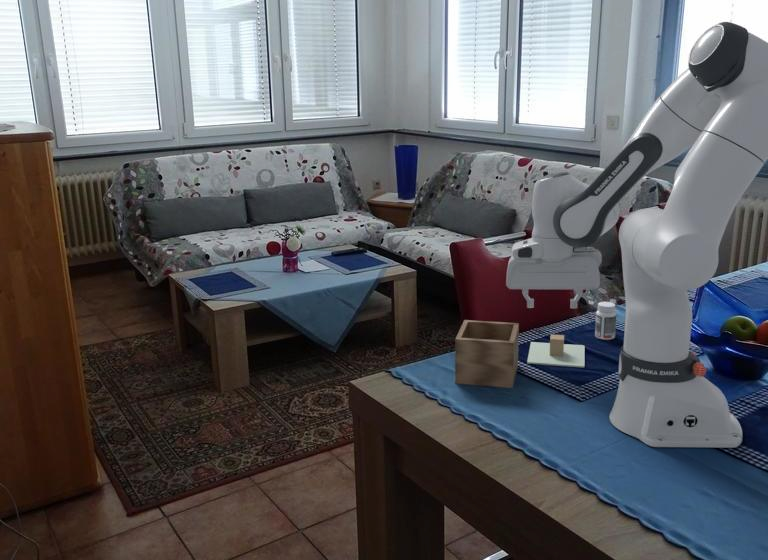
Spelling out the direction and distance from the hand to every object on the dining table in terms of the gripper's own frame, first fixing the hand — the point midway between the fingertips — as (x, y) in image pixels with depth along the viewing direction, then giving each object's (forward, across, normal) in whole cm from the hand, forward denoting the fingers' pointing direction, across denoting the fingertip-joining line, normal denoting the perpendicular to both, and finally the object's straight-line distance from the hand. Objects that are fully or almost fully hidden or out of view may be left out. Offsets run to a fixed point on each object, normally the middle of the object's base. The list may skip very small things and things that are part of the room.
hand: (551, 307), depth 163 cm
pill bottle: (+12, -13, -15) cm, 23 cm away
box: (+12, +14, +12) cm, 21 cm away
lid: (+12, -1, -1) cm, 13 cm away
